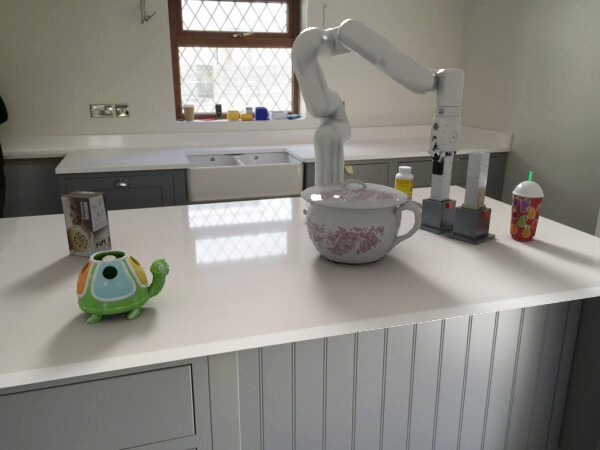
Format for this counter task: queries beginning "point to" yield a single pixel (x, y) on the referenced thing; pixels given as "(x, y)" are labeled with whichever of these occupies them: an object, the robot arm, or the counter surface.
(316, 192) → the chamber pot
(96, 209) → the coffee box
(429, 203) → the stand sleeve
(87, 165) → the counter surface
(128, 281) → the turtle holder
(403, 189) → the supplement bottle
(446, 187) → the column
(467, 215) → the twin stand
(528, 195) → the smoothie
